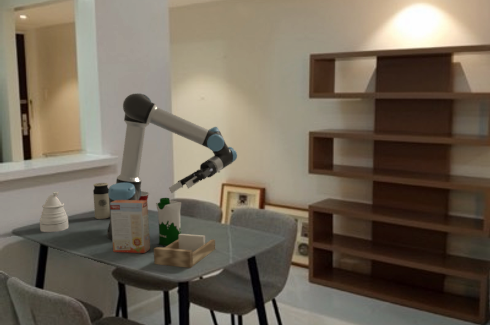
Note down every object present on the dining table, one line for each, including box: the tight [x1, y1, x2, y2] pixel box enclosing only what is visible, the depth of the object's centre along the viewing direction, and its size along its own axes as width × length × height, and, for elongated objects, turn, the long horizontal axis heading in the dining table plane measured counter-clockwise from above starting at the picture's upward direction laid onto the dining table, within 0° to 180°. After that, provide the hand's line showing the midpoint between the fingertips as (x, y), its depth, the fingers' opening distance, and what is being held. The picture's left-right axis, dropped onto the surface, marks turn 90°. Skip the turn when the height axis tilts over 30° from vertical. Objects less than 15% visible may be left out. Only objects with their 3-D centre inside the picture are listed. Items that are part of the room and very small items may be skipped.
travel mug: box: [92, 182, 110, 220], centre depth 261 cm, size 8×8×18 cm
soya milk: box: [155, 197, 182, 247], centre depth 210 cm, size 9×9×20 cm
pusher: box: [179, 233, 206, 253], centre depth 199 cm, size 11×2×7 cm, turn 70°
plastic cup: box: [139, 190, 150, 201], centre depth 266 cm, size 11×11×12 cm
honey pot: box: [39, 191, 69, 233], centre depth 241 cm, size 13×13×18 cm
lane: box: [153, 239, 216, 269], centre depth 194 cm, size 15×23×6 cm, turn 160°
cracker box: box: [110, 199, 151, 254], centre depth 202 cm, size 14×6×21 cm, turn 77°
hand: (178, 188), depth 219 cm, fingers open, 13 cm apart
